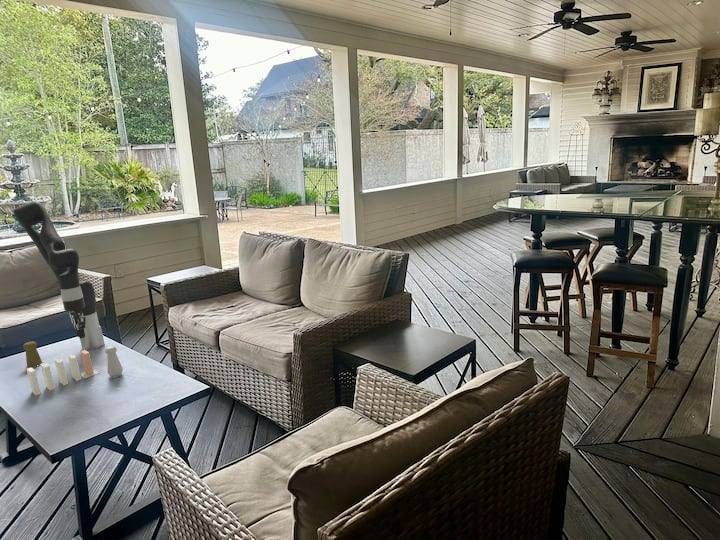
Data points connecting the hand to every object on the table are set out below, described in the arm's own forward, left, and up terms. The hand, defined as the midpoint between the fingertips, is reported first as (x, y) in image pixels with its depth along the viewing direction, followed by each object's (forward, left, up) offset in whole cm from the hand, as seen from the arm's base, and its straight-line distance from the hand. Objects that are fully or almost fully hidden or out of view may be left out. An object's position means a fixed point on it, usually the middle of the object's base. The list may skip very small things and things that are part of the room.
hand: (81, 336), depth 208 cm
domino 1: (+20, 0, -17) cm, 26 cm away
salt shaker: (-6, +12, -17) cm, 22 cm away
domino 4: (+5, 0, -17) cm, 18 cm away
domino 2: (+15, 0, -17) cm, 23 cm away
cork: (+13, -33, -17) cm, 39 cm away
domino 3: (+10, 0, -17) cm, 20 cm away
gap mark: (0, 0, -17) cm, 17 cm away
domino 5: (0, 0, -17) cm, 17 cm away
